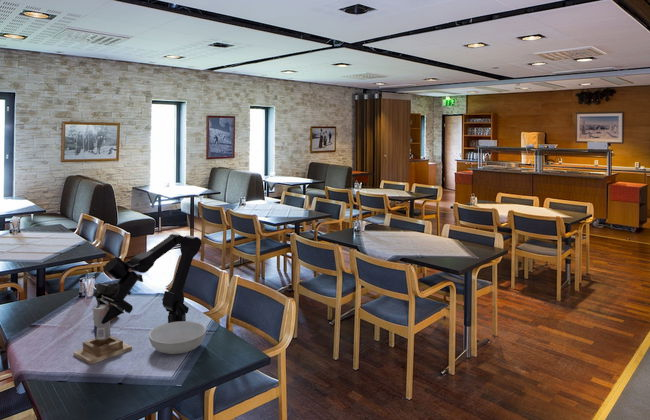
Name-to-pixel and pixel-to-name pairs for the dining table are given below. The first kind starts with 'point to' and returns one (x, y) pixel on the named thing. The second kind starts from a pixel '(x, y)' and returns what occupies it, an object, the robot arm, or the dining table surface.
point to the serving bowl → (177, 337)
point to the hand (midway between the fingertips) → (98, 321)
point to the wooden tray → (101, 349)
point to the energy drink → (100, 329)
